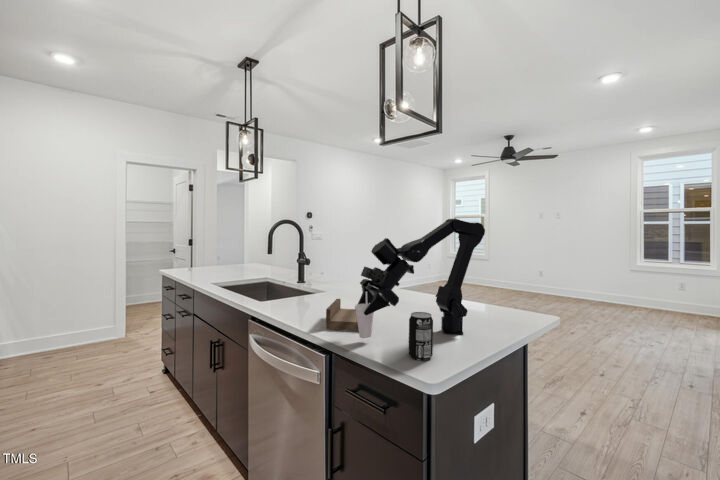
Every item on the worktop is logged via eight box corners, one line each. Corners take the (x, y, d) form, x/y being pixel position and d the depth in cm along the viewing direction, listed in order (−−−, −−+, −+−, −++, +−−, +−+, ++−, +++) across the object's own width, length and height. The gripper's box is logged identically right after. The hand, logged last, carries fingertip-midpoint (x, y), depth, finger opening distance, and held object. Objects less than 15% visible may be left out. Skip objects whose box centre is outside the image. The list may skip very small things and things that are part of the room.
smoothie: (373, 339, 101) (373, 293, 101) (352, 338, 102) (352, 292, 102) (377, 334, 107) (376, 290, 107) (357, 333, 108) (356, 289, 108)
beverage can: (415, 350, 98) (416, 310, 98) (436, 356, 94) (437, 314, 93) (404, 357, 93) (404, 314, 93) (425, 363, 89) (426, 318, 88)
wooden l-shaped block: (371, 317, 134) (371, 300, 133) (365, 331, 116) (365, 311, 116) (336, 315, 136) (336, 298, 135) (326, 329, 118) (326, 309, 117)
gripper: (365, 255, 114) (334, 289, 110) (389, 260, 96) (353, 301, 93) (386, 276, 117) (356, 310, 114) (413, 285, 100) (379, 326, 96)
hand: (360, 311), depth 104 cm, fingers closed on smoothie, 6 cm apart
